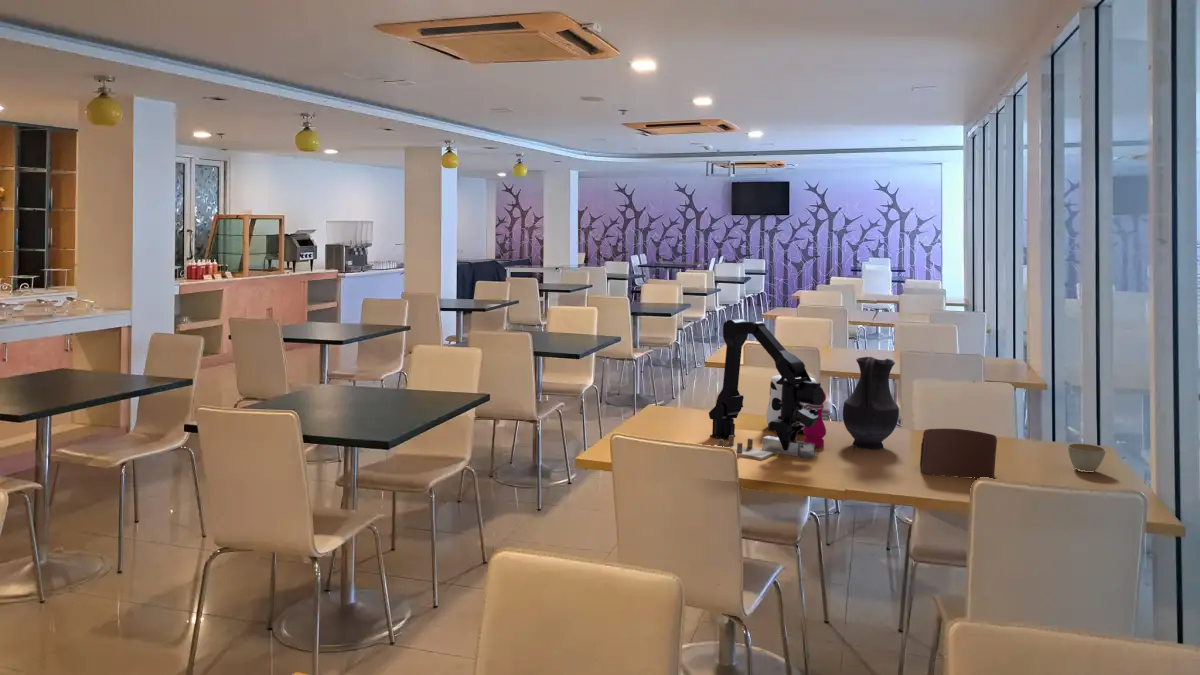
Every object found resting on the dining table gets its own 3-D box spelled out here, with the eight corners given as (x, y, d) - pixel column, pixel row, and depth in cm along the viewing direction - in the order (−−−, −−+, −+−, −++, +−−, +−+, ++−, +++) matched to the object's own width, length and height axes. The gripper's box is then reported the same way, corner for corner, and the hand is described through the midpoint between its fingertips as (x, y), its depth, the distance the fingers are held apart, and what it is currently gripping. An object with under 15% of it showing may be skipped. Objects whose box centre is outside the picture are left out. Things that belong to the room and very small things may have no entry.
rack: (706, 450, 292) (706, 438, 292) (719, 444, 300) (720, 433, 299) (761, 460, 282) (762, 447, 281) (774, 454, 289) (775, 442, 288)
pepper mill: (825, 448, 299) (829, 386, 296) (802, 446, 300) (805, 385, 298) (824, 442, 306) (828, 382, 303) (802, 441, 307) (805, 381, 305)
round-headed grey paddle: (761, 450, 294) (761, 438, 293) (767, 447, 298) (768, 435, 297) (810, 459, 284) (811, 446, 284) (816, 456, 288) (817, 443, 288)
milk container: (821, 435, 316) (824, 383, 314) (770, 434, 316) (772, 382, 314) (810, 424, 333) (813, 374, 331) (761, 423, 333) (764, 373, 331)
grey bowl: (1059, 466, 283) (1061, 443, 282) (1090, 466, 284) (1092, 443, 283) (1078, 475, 273) (1080, 451, 272) (1111, 475, 274) (1113, 451, 273)
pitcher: (899, 444, 307) (905, 353, 303) (890, 458, 288) (896, 362, 284) (846, 437, 314) (851, 349, 310) (833, 450, 295) (839, 357, 292)
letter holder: (993, 481, 265) (997, 433, 263) (920, 474, 271) (923, 426, 269) (990, 472, 275) (994, 425, 273) (919, 465, 281) (922, 419, 279)
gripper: (803, 408, 277) (800, 459, 279) (826, 399, 292) (824, 447, 294) (768, 403, 283) (766, 453, 285) (793, 394, 298) (791, 442, 300)
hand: (788, 449), depth 291 cm, fingers open, 4 cm apart
